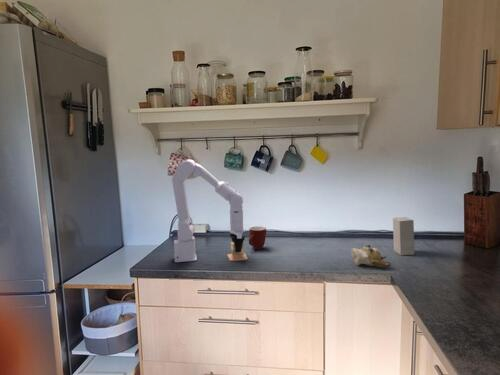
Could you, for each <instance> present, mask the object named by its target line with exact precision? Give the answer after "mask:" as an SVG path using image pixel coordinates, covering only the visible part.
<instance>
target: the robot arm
mask: <svg viewBox="0 0 500 375" xmlns="http://www.w3.org/2000/svg"><path fill="white" fill-rule="evenodd" d="M191 175H192V176H195V177H201V178H202V179H203V180H205V182H208V183H209V184H210V185H211V186H212V187H214V189H215V190H214V191H215V193H216V194H217V195H219V196H220V197H222V199H224V200H225V201H228V203H229V206H230V207H229V208H230V209H229V228H230V229H229V235H230V238H231V242H234V245H235V251H236V252H241V249H242V244H244V241H245V238H246V237H245V236H243V233H244V232H246V231H247V229H245V228H244V210H243V207H244V206H243V203H244V202H243V201H244V200H243V195H242V194H241V193H240V192H238V191H237V190H236V189H234V188H232V186H230V185H229V184H230V183H229V182H227V181H219V180H218V179H217V178H216V177H215V176H214V175H212V173H211V172H210V171H208V170H207V169H206V168H205V167H204V166H202V165H201V164H199V163H197V162H196V161H195V160H193V159H191V158H190V159H189V158H188V159H186V160H183V161H181V162H180V163H179V164H178V165H177V166H176V170H175V172H174V174H173V176H172V178H171V179H172V180H171V182H172V188H173V194H174V199H175V206H176V207H175V208H176V212H177V216H178V217H177V218H178V223H177V227H178V229H177V239H174V240H173V251H174V252H173V257H174V263H181V262H182V263H183V262H193V261H194V262H195V261H197V260H198V259H197V253H196V238H195V236H194V235H193V234H194V233H195V229H196V228H195V225H194V224H193V222H192V218H191V217H190V216H191V215H190V211H189V204H188V197H187V194H186V193H187V192H186V186H185V181H186V180H187V179H188V178H189V176H191Z"/></svg>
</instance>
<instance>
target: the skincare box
mask: <svg viewBox="0 0 500 375" xmlns="http://www.w3.org/2000/svg"><path fill="white" fill-rule="evenodd" d="M414 224H415V223H414V219H411V218H410V217H406V216H404V217H403V216H402V217H392V233H393V251H394V252H396V253H397V254H398V255H400V256H407V255H408V256H414V255H415V232H414V231H415V228H414V227H415V225H414Z"/></svg>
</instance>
